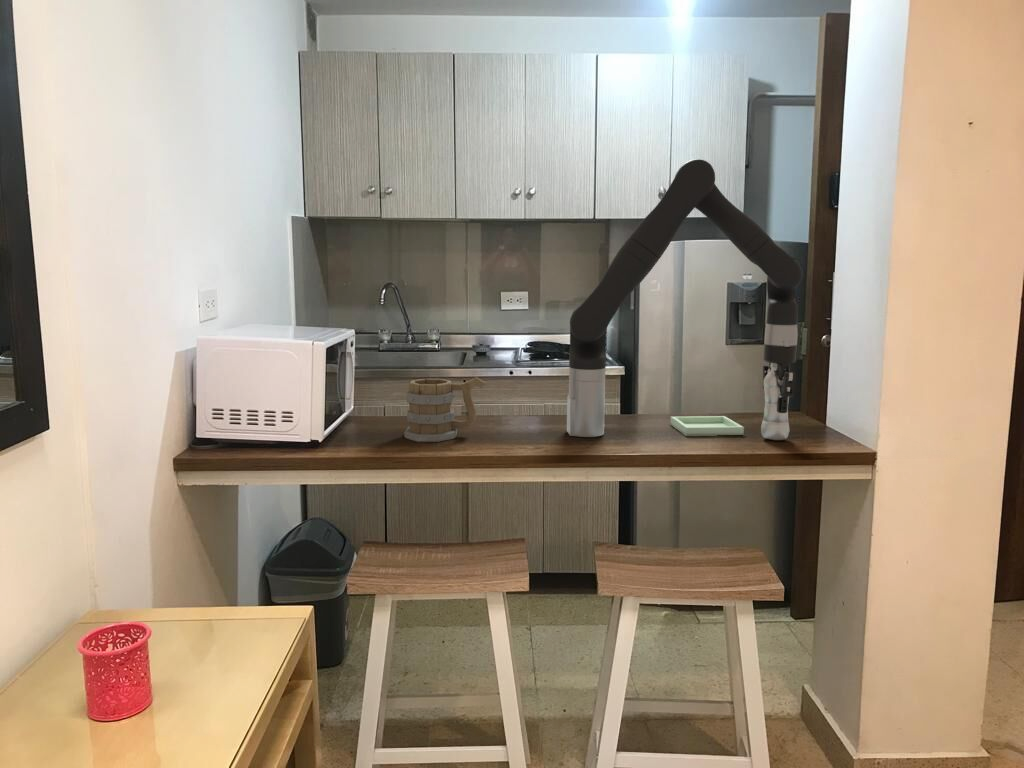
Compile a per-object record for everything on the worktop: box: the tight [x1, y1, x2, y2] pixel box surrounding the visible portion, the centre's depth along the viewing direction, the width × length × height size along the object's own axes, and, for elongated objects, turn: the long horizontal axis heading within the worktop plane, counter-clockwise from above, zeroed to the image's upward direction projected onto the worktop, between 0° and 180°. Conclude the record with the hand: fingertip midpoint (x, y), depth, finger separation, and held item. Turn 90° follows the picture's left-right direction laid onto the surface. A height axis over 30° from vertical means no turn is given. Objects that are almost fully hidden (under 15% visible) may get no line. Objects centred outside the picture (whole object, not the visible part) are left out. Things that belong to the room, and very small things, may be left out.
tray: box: [670, 415, 745, 437], centre depth 194 cm, size 15×14×2 cm
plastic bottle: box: [760, 363, 790, 441], centre depth 182 cm, size 6×7×20 cm
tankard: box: [404, 376, 486, 443], centre depth 185 cm, size 20×13×15 cm, turn 89°
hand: (776, 409), depth 183 cm, fingers closed on plastic bottle, 6 cm apart
